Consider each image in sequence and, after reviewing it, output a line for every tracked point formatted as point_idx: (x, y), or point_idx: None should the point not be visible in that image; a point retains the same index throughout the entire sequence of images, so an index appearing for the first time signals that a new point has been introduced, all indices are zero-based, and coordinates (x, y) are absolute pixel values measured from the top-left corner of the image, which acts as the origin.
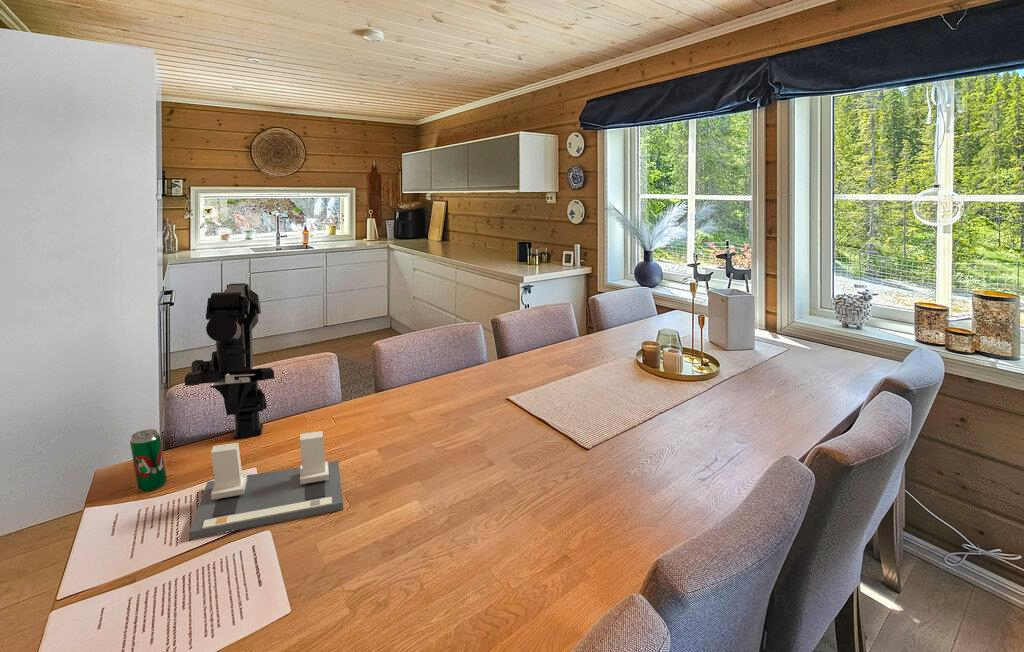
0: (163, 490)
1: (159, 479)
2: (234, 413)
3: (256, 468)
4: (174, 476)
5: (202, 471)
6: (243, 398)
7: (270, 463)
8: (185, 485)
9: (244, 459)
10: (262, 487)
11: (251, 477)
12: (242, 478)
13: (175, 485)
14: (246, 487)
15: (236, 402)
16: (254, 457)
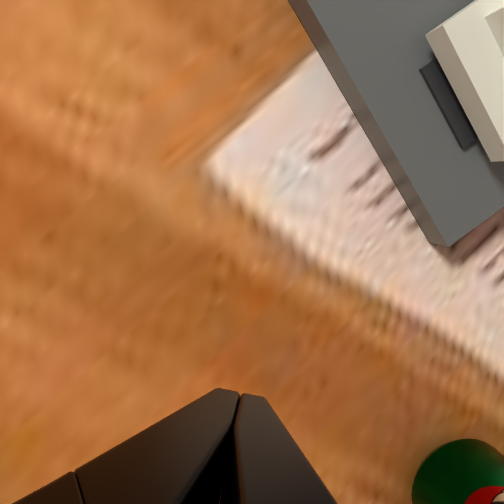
0: (473, 409)
1: (493, 456)
2: (266, 405)
3: (217, 150)
4: (372, 468)
5: (308, 391)
6: (97, 479)
7: (146, 109)
8: (426, 358)
9: (147, 288)
10: None
11: (373, 50)
12: (488, 14)
13: (433, 398)
14: (462, 6)
15: (278, 476)
16: (111, 251)
